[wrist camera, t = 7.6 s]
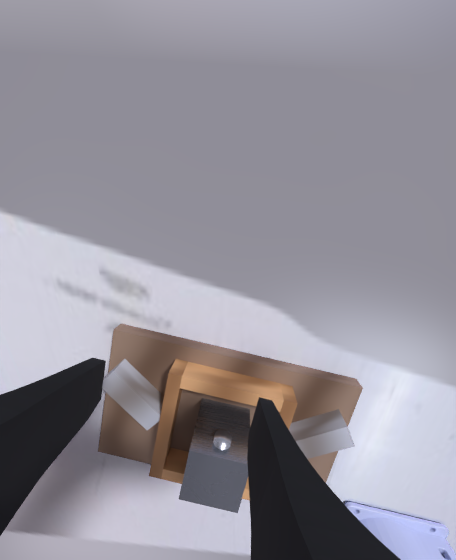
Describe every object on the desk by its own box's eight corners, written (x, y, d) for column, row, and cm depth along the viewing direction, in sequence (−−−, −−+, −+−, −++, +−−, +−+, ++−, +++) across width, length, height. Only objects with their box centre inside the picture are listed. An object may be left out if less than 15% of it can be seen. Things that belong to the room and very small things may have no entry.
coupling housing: (356, 378, 21) (375, 405, 18) (313, 490, 24) (324, 530, 21) (120, 323, 21) (99, 340, 18) (105, 440, 24) (84, 472, 21)
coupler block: (250, 404, 21) (252, 460, 16) (238, 452, 22) (236, 517, 17) (203, 393, 21) (190, 445, 16) (192, 441, 22) (177, 503, 17)
